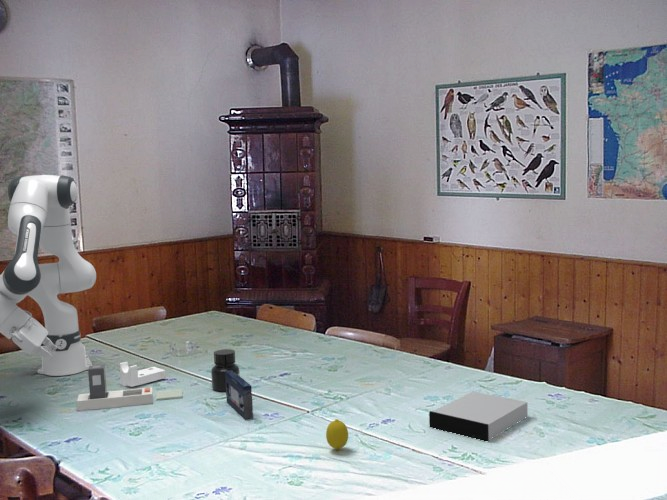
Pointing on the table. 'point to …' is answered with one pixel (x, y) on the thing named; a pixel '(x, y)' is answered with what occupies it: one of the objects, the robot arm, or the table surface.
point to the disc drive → (478, 415)
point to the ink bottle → (223, 368)
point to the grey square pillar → (97, 381)
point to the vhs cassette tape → (239, 395)
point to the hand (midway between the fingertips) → (53, 353)
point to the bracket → (139, 375)
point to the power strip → (116, 399)
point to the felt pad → (169, 394)
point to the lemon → (337, 434)
